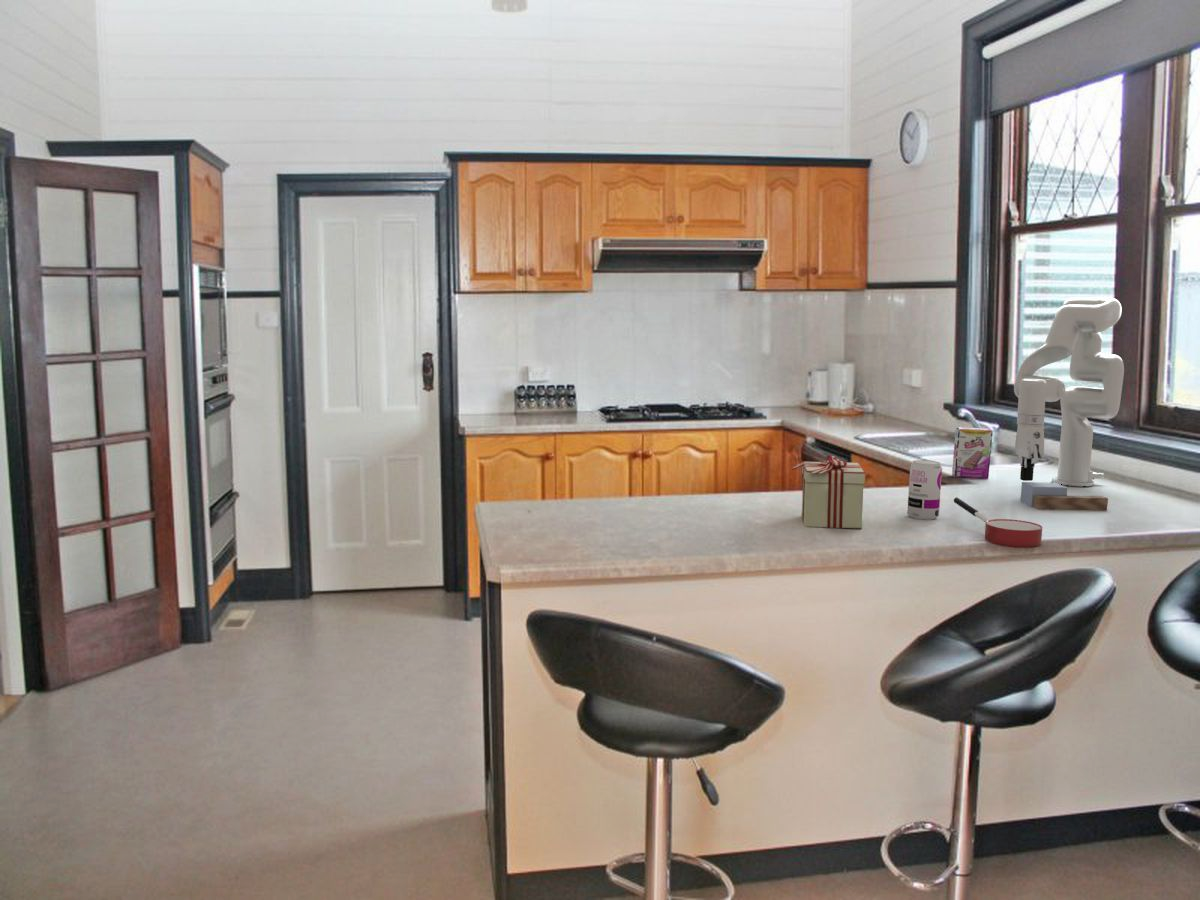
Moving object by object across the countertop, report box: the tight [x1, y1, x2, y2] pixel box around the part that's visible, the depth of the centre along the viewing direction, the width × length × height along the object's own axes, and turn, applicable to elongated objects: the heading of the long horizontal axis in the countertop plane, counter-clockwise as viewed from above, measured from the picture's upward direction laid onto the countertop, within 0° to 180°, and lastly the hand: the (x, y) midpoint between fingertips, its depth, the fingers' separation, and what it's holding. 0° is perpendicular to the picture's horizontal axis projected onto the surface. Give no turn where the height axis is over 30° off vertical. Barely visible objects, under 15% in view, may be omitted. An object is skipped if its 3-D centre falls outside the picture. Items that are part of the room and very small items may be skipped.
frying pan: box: [953, 496, 1043, 549], centre depth 276 cm, size 32×13×6 cm, turn 20°
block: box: [1019, 481, 1068, 508], centre depth 317 cm, size 10×8×6 cm
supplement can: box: [906, 459, 943, 521], centre depth 294 cm, size 8×8×15 cm
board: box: [1032, 494, 1109, 511], centre depth 312 cm, size 20×4×4 cm, turn 93°
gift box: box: [790, 454, 866, 530], centre depth 283 cm, size 17×18×17 cm
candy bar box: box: [951, 426, 994, 480], centre depth 362 cm, size 11×5×16 cm, turn 84°
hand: (1026, 480), depth 330 cm, fingers closed
